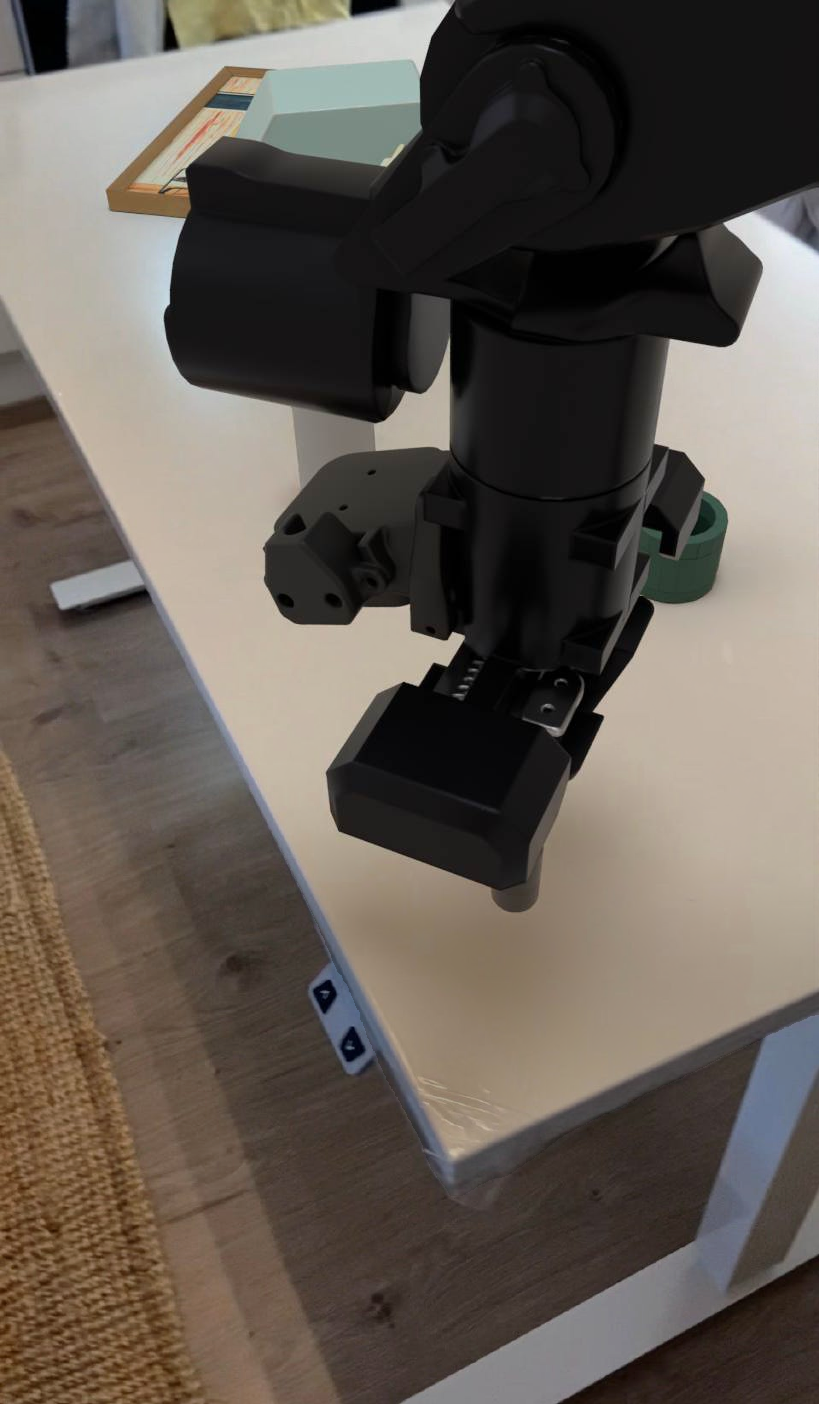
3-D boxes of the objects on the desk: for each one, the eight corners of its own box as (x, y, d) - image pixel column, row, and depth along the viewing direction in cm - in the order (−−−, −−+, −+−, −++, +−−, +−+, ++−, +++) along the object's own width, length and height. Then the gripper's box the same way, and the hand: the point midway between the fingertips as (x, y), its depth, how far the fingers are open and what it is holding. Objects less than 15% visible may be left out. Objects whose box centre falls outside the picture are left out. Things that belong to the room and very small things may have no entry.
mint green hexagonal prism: (366, 349, 98) (509, 120, 86) (378, 401, 93) (532, 164, 81) (174, 257, 90) (304, -9, 78) (175, 308, 85) (314, 30, 73)
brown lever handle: (545, 882, 50) (569, 667, 41) (528, 919, 49) (548, 707, 40) (501, 866, 51) (514, 651, 41) (483, 903, 50) (492, 689, 40)
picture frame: (105, 189, 105) (224, 65, 125) (109, 210, 107) (227, 84, 126) (438, 220, 100) (507, 85, 119) (438, 242, 101) (507, 105, 121)
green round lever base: (725, 557, 72) (738, 497, 69) (700, 613, 69) (713, 553, 66) (639, 535, 74) (648, 475, 71) (611, 588, 71) (619, 529, 67)
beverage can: (288, 510, 76) (268, 341, 68) (348, 479, 78) (335, 312, 70) (334, 546, 74) (319, 376, 65) (394, 514, 76) (387, 344, 67)
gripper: (426, 243, 42) (430, 581, 53) (123, 564, 30) (211, 906, 42) (742, 305, 38) (673, 651, 50) (535, 693, 27) (508, 1026, 38)
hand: (523, 788), depth 45 cm, fingers closed on brown lever handle, 2 cm apart
